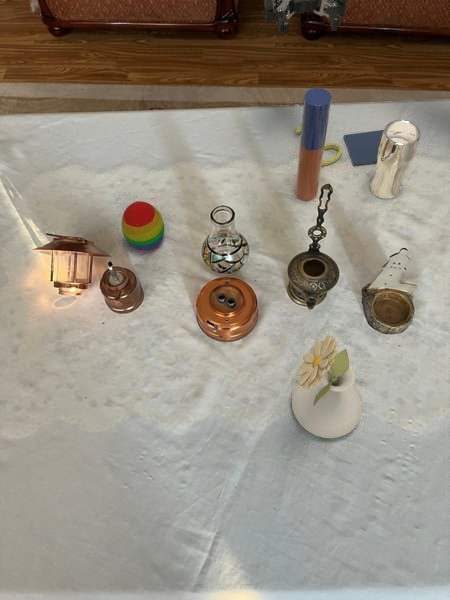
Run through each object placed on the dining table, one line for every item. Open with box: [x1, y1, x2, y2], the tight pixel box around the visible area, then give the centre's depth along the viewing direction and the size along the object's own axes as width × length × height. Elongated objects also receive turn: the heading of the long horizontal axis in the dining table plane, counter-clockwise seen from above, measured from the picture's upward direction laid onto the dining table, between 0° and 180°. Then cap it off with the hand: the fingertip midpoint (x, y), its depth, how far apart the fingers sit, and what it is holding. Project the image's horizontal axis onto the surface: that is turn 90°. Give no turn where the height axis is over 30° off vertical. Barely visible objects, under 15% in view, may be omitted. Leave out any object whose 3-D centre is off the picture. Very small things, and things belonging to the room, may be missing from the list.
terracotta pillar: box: [294, 142, 326, 202], centre depth 104 cm, size 5×5×14 cm
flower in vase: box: [291, 334, 364, 439], centre depth 75 cm, size 13×11×25 cm
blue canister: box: [299, 87, 333, 150], centre depth 94 cm, size 5×5×10 cm
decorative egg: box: [121, 200, 165, 251], centre depth 102 cm, size 8×8×10 cm
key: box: [294, 123, 343, 167], centre depth 115 cm, size 7×12×2 cm, turn 49°
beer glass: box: [369, 119, 421, 200], centre depth 103 cm, size 7×7×15 cm
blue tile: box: [343, 129, 384, 167], centre depth 115 cm, size 9×9×1 cm
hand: (310, 27), depth 90 cm, fingers open, 8 cm apart
